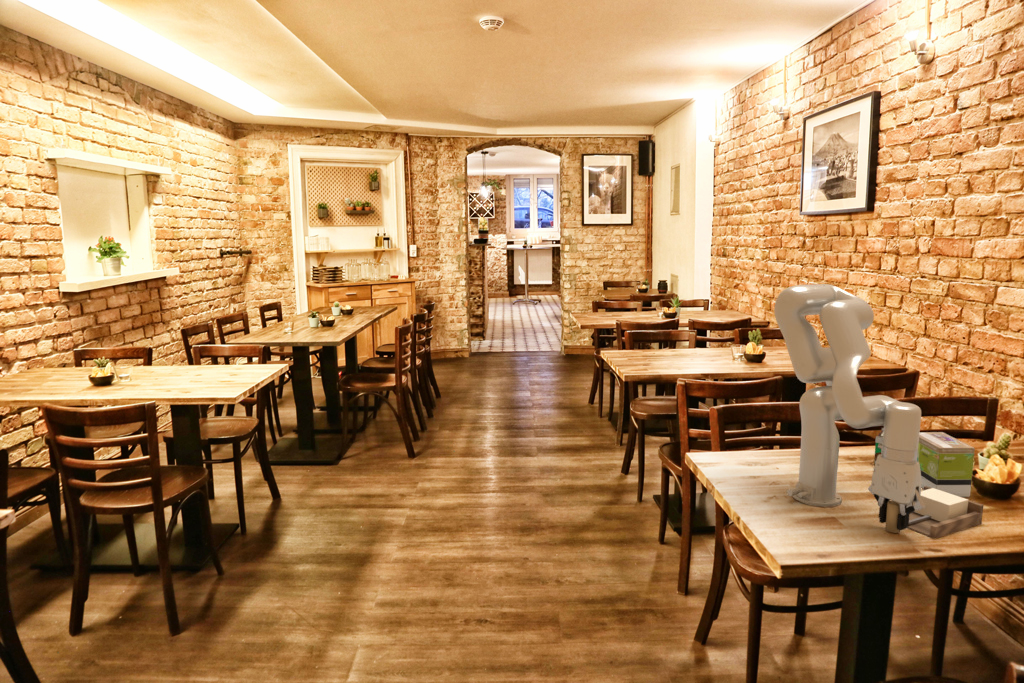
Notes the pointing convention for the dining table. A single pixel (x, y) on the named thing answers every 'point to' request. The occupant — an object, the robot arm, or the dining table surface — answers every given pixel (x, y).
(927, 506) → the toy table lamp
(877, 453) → the food container
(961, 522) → the wooden frame
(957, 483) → the tea box
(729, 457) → the dining table surface
